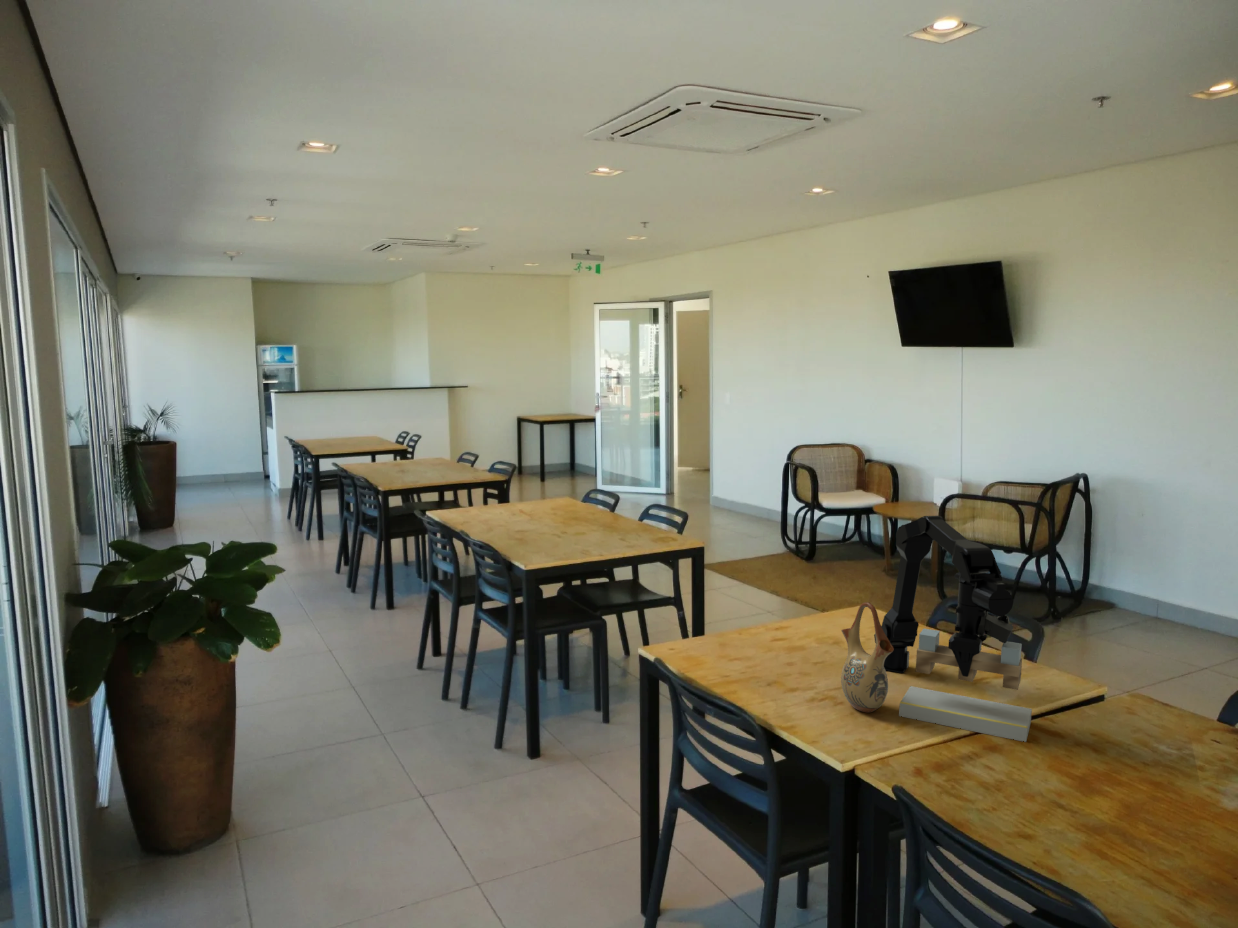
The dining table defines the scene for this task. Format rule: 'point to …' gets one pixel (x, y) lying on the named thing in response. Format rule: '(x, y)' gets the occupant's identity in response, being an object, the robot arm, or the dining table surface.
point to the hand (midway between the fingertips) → (967, 671)
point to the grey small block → (929, 640)
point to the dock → (966, 713)
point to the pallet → (979, 662)
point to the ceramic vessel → (865, 666)
